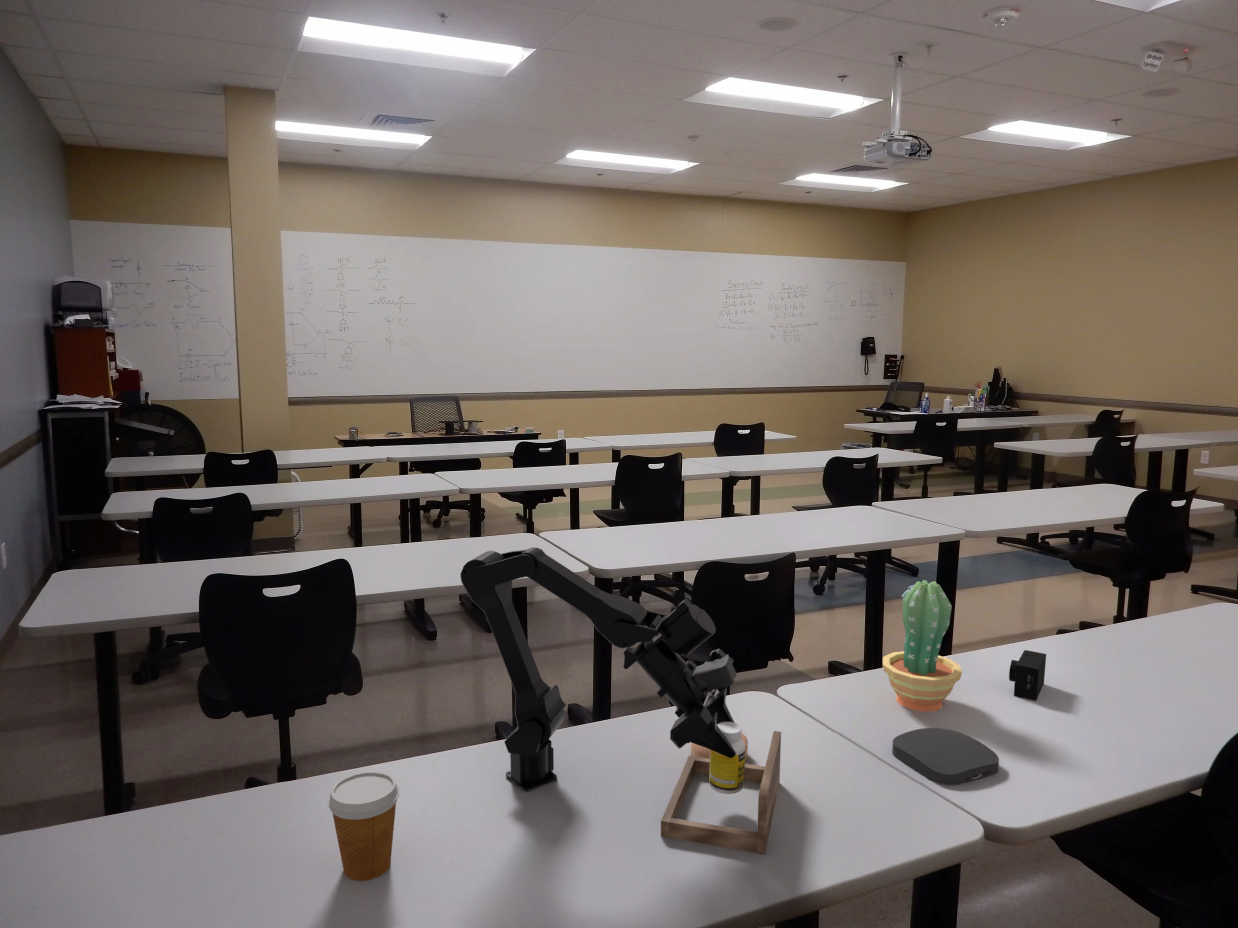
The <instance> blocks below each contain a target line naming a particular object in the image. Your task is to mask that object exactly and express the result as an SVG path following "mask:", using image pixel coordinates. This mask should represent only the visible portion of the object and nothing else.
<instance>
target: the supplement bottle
mask: <svg viewBox="0 0 1238 928" xmlns="http://www.w3.org/2000/svg"><path fill="white" fill-rule="evenodd" d="M717 726H718V727H719V729H720V730H721V732H722V733H723V734H724V736H725V737H726V739H727V740H728V742H729V743H730V744H731V746H732V747H733V749H734V751H735V752H736V755H735V756H734V757H733V758H729V757H726V756H724V755H722V754H719V753H717V752H715V751H712V750H710V772H709V776H708V778H709V779H708V784H709V786H710V787H711V789H712V790H713V791H715V792H716V793H719V794H725V795H732V794H738V793H740V792H741V791H742V790H743V789H744V786H745V785H744V783H745V781H744V767H745V764H746V763H745V743H744V741H743V740H742V739H741V735H742V734H743V733H742V730H743V729H742V726H741V725H740V724H739V723H736V722H735V723H733V722H721V723H719V724H717Z"/></svg>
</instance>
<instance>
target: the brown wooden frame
mask: <svg viewBox="0 0 1238 928" xmlns="http://www.w3.org/2000/svg"><path fill="white" fill-rule="evenodd" d="M781 746H782V731H777V730H773V733H772V738H771V740H770V746H769V750H768V754H767V758H766V763H765V766H764V765H756V764H750V763H745V767H744V782H748V783H754V784H760V787H759V791H758V798H757V799H758V801H757V806H758V807H757V831H752V830H747V829H741V828H734V827H729V826H725V825H724V826H723V825H719V824H718V825H716V824H710V823H707V822H706V823H705V822H701V821H700V822H698V821H694V820H688V819H687V820H685V819H680V818H678V815H679V813H680V811H681V808H682V805H683V803H684V801H685V797H686V796H687V793H688V790H689V789H690V785H691V783H692V781H693V778H694V776H695V775H700V776H705V777H706V776H707V777H709V772H710V759H708V758H701V757H694V756H691V755H688V757H687V759H686V762H685V764H684V766H683V769H682V771H681V773H680V776H679V778H678V781H677V783H676V785H675V787H674V790H673V792H672V794H671V797H670V799H669V801H668V803H667V806H666V808H665V811H664V813H663V815H662V818H661V820H660V837H661V838H668V839H673V840H679V841H686V842H692V843H695V844H696V843H697V844H704V845H709V846H715V847H720V848H726V849H732V850H737V851H743V852H751V853H756V854H762V855H766V852H767V847H768V844H769V843H768V842H769V837H770V832H771V828H772V823H773V818H774V813H775V807H776V802H777V797H778V794H779V793H778V792H779V787H780V778H781V777H780V776H781V753H782V752H781V749H782V747H781Z"/></svg>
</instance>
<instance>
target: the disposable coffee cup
mask: <svg viewBox="0 0 1238 928" xmlns="http://www.w3.org/2000/svg"><path fill="white" fill-rule="evenodd" d="M399 796H400V787H399V786H398V784H397V782H396V779H395V777H394V776H392V775H391V774H388V773H387V772H383V771H373V770H371V771H362V772H357V773H354V774H353V773H352V774H350V775H348V776H345V777H343V778H341V779H340V780H337V782H336V783H335V784H333V786H332V788H331V791H330V794H329V796H328V798H327V805H328V806H327V807H328V808H329V810H330V812H331V813H332V818H333V822H334V823H333V824H334V829H335V834H336V837H337V842H338V850H339V853H340V859H341V862H342V863H341V864H342V871H343V874H344V876H345V877H346V878H348V879H349V880H352V881H357V882H359V881H360V882H361V881H362V882H363V881H365V882H366V881H370V880H374V879H377V878H379V877H380V876H382V875H384V874H385V873H386V872H387V871H388V870H389V869H390V866H391V864H392V862H391V860H392V852H393V851H392V850H393V849H392V848H393V840H394V829H395V828H394V827H395V820H396V819H395V818H396V808H397V807H396V806H397V801H398V799H399Z"/></svg>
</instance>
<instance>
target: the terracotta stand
mask: <svg viewBox="0 0 1238 928" xmlns="http://www.w3.org/2000/svg"><path fill="white" fill-rule="evenodd" d="M741 739H742V740H743V741H744V743H745V764H747V763H746V762H747V761H748V757H749V756H748V753H749V746H748V745H749V740H748V738H747V736H746V735H745V734H744V733H742V735H741ZM690 756H694V757H701V758H708V759H710V749H708V748H705V747H702V746H700V745H697V744H694V743H691V742H690Z"/></svg>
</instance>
